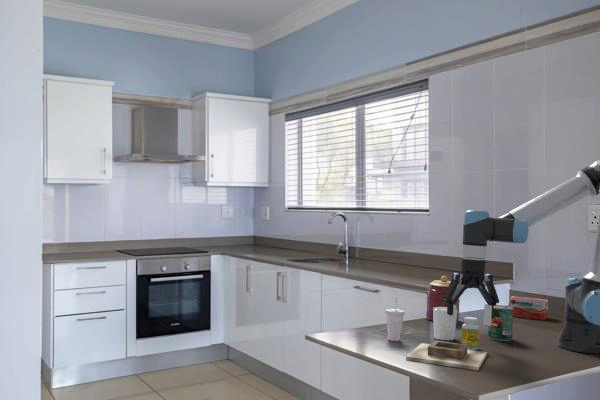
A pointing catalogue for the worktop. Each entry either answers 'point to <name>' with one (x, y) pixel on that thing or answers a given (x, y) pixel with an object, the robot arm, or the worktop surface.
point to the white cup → (442, 324)
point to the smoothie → (394, 322)
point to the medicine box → (529, 307)
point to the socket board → (448, 355)
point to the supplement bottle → (470, 333)
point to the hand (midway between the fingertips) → (469, 325)
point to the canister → (438, 297)
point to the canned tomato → (501, 323)
